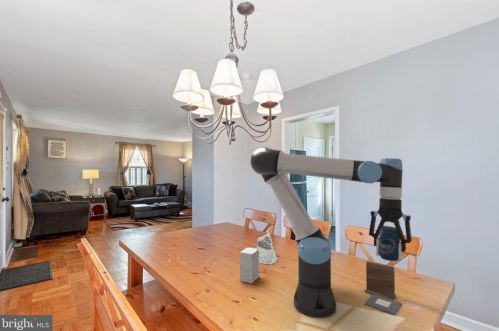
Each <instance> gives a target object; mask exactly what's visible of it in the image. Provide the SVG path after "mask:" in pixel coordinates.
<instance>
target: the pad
mask: <svg viewBox="0 0 499 331" xmlns="http://www.w3.org/2000/svg"><path fill="white" fill-rule="evenodd" d="M363 305H365V306H367V307H370V308H372V309H375V310H378V311H380V312H384V313H386V314H389V315H392V316H396V314H397V312H398V311H399V309H400V308H401V306H402V305H403V303H402V302H401V301H397V300H395V299H394V300H392V299H389V298H385V297H382V296H379V295H376V294H372V295H371V294H370V296H369V297H368V298H367V300H366V301H365V302H364V304H363Z"/></svg>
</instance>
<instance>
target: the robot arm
mask: <svg viewBox="0 0 499 331" xmlns="http://www.w3.org/2000/svg"><path fill="white" fill-rule="evenodd" d="M250 166H251V168H252V170H253V171H254V172H255V173H256V174H258V175H261V177H262V179H263V181H264V182H265V184H267V185H270V187H271V188H272V191H273V193H274V195H275V196H276V198H277V200H278V203H279V204H280V206H281V207H282V209H283V212H284V214H285V215H286V217H287V219H288V221H289V223H290V225H291V227H292V228H293V230H294V232H295V238H294V239H295V242H296V243H297V245H298V247H297V255H298V258H297V260H298V262H297V264H298V267H297V269H298V281H297V286H296V289H295V292H294V295H293V306H294V308H295V309H296V310H297V311H298V312H299V313H301V314H303V315H306V316H309V317H313V318H327V317H331V316H334V315H335V313H336V312H337V300H336V298H335V295H334V292H333V289H332V263H331V262H332V257H331V256H332V247H331V243H330V241H329V239H328V238H327V236H325V235H324V233H323V230H321V227H320V226H318V225H315V224H314V222H313V220H312V218H311V216H310V214H309V212H308V211H307V210H306V207H305V205H304V204H303V201H302V200H301V199H300V197H299V194H298V193H297V191H296V189H295V187H294V186H293V184H292V181H291V180H290V179H289V176H288V175H289V174H290V175H299V176H300V175H301V176H309V177H317V178H325V179H333V180H334V179H335V180H342V181H350V182H357V183H364V184H374V183H379V203H378V204H379V207H378V209H377V210H371V211H370V216H371V217H370V218H371V219H370V225H369V230H368V235H369V236H371V237H372V238H373V246H374V247H376V250H375V251H376V254H375V255H376V256H377V257H380V255H379V235H380V230H381V228H382V227H383V226H385V223H392V224H393V225H394V227H396V229H397V232H398V234H399V238H400V243H399V257H398V260H397V261H399V262H402V260H403V253H405V252H406V251H407V250H406V249H407V248H406V247H407V244H411V242H412V240H413V239H412V231H411V229H412V228H411V219H412V216H411V215H407V214H404V213H403V212H402V208H403V207H402V203H403V202H402V201H403V200H402V197H403V171H404V169H403V161H402V159H400V158H392V157H391V158H386V157H385V158H381V159H380V161H379V163H378V162H376V161H373V160H366V161H365V160H355V159H345V158H336V157H335V158H334V157H326V156H325V157H323V156H315V155H303V154H292V153H285V152H284V151H283V150H279V149H278V150H277V149H272V148H269V147H259V148H257V149H256V150H254V151H253V152H252V154H251V156H250ZM377 216H379V217H380V221H379V223H378V226H377V228H376V220H377ZM401 218H403V219H402V220H403V221H404V226H405V235H404V231H403V229H402V226H401V223H400V219H401ZM375 228H376V230H375ZM405 236H406V237H405Z"/></svg>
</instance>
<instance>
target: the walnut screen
mask: <svg viewBox="0 0 499 331" xmlns="http://www.w3.org/2000/svg"><path fill="white" fill-rule="evenodd" d="M365 262H366V263H365V265H366V266H365V267H366V268H365V272H366V276H365V277H366V278H365V279H366V280H365V281H366V283H365V284H366V289H365V290H364V293H365V294H369V295H370V296H371V295H372V294H376V295H379V296H382V297H385V298H389V299H392V300H395V299H396V297H397V294H396V292H395V291H396V290H395V288H396V286H395V285H396V283H395V282H396V281H395V280H396V279H395V266H390V265H387V264H382V263H379V262H375V261H374V262H373V261H370V260H367V261H365Z"/></svg>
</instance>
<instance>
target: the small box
mask: <svg viewBox="0 0 499 331" xmlns="http://www.w3.org/2000/svg"><path fill="white" fill-rule="evenodd" d="M259 257H260V249H259V248H254V247H245V248H244V249H243V250H240V252H239V281H240V282H244V283H248V284H254V282H255V281H257V279H258V278H259V277H260V268H259V266H260V258H259Z"/></svg>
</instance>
